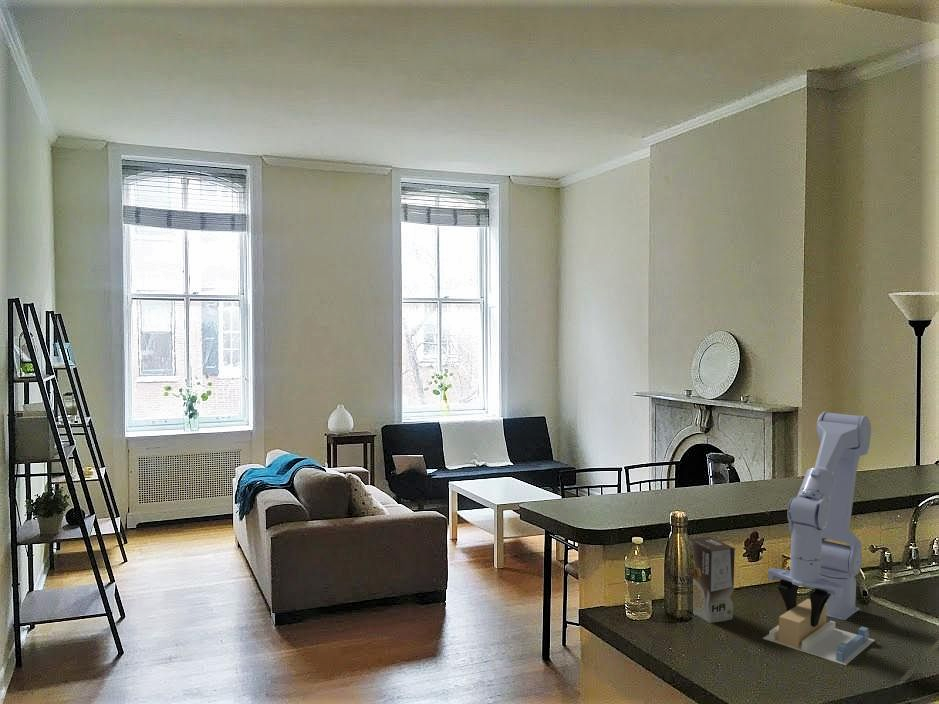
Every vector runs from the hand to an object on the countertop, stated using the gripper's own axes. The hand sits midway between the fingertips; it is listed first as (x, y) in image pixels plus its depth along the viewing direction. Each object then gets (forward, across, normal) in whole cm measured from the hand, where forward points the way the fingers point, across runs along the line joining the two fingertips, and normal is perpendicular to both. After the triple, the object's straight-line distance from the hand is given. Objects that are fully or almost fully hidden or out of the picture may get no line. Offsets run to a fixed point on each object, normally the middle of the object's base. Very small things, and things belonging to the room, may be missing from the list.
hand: (803, 621), depth 159 cm
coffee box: (+3, -19, -4) cm, 19 cm away
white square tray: (+3, +3, 0) cm, 5 cm away
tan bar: (+3, 0, 0) cm, 3 cm away
